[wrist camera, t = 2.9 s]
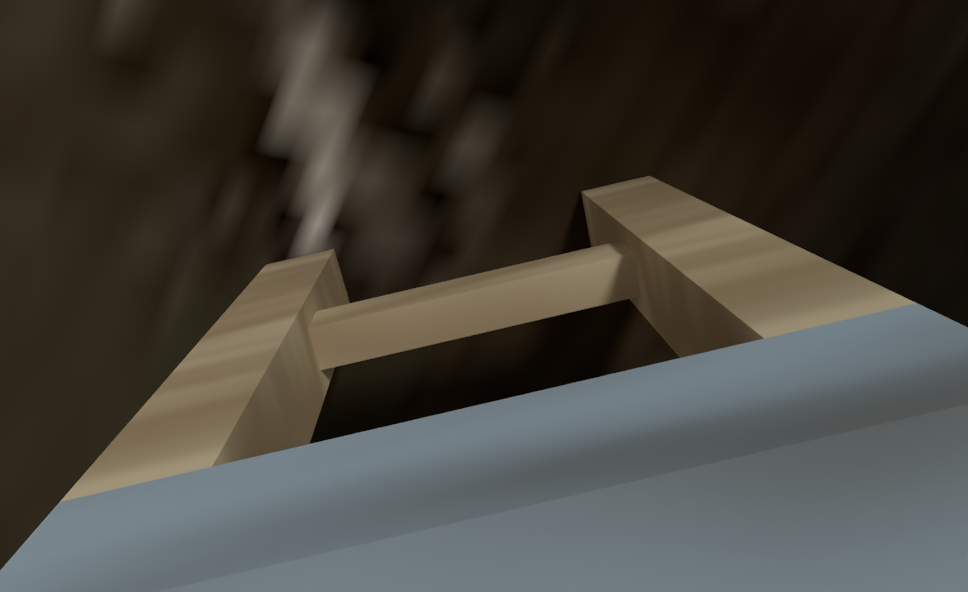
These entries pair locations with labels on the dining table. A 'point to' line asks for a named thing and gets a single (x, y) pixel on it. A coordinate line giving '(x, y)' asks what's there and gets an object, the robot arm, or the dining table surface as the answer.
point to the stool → (549, 436)
